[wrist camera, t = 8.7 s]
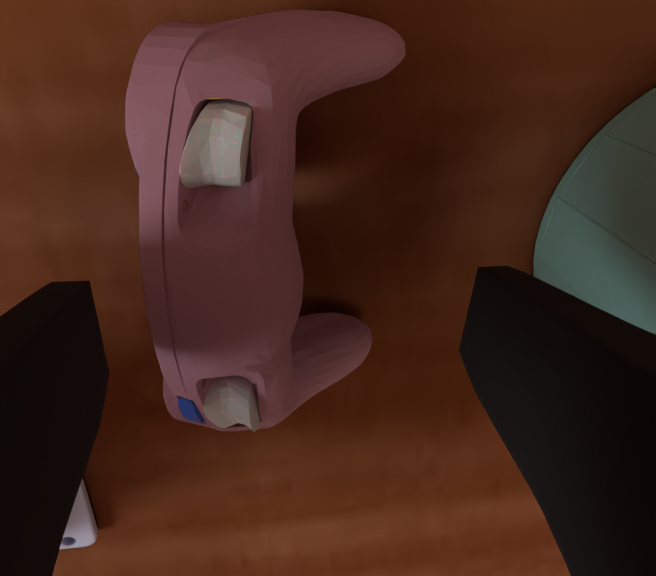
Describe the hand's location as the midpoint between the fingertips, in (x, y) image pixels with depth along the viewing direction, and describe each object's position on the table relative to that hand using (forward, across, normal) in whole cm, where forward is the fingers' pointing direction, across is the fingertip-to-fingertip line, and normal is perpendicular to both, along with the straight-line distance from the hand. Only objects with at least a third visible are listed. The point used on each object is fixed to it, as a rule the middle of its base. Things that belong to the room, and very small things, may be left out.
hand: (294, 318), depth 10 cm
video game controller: (+6, 0, 0) cm, 6 cm away
